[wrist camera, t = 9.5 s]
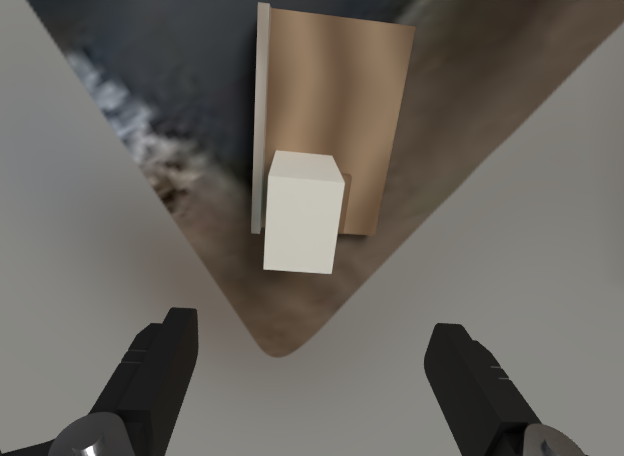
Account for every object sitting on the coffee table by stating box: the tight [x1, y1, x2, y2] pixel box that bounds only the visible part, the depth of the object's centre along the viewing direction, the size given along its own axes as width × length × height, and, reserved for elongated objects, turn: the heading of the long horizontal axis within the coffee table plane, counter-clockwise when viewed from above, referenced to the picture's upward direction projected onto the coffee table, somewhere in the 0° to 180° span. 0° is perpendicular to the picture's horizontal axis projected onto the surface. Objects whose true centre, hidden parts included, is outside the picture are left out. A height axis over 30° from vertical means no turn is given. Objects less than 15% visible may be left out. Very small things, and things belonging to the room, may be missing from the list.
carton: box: [264, 150, 345, 274], centre depth 27 cm, size 5×7×8 cm
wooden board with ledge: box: [251, 2, 416, 236], centre depth 29 cm, size 12×18×3 cm, turn 174°
